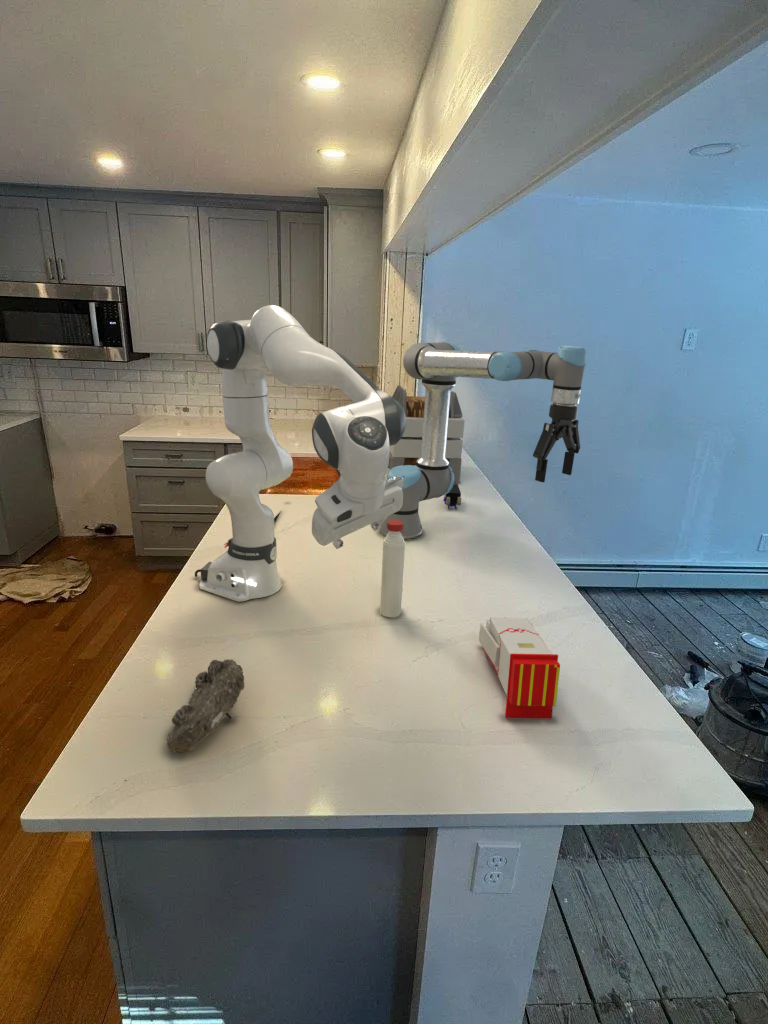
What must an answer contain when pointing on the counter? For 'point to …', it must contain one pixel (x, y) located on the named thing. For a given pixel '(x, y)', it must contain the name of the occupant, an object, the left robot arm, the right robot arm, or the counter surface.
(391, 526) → the cap
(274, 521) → the feather
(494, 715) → the counter surface
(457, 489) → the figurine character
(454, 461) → the grey slatted box
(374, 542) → the counter surface
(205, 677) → the fossil
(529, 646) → the toy
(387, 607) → the bottle
